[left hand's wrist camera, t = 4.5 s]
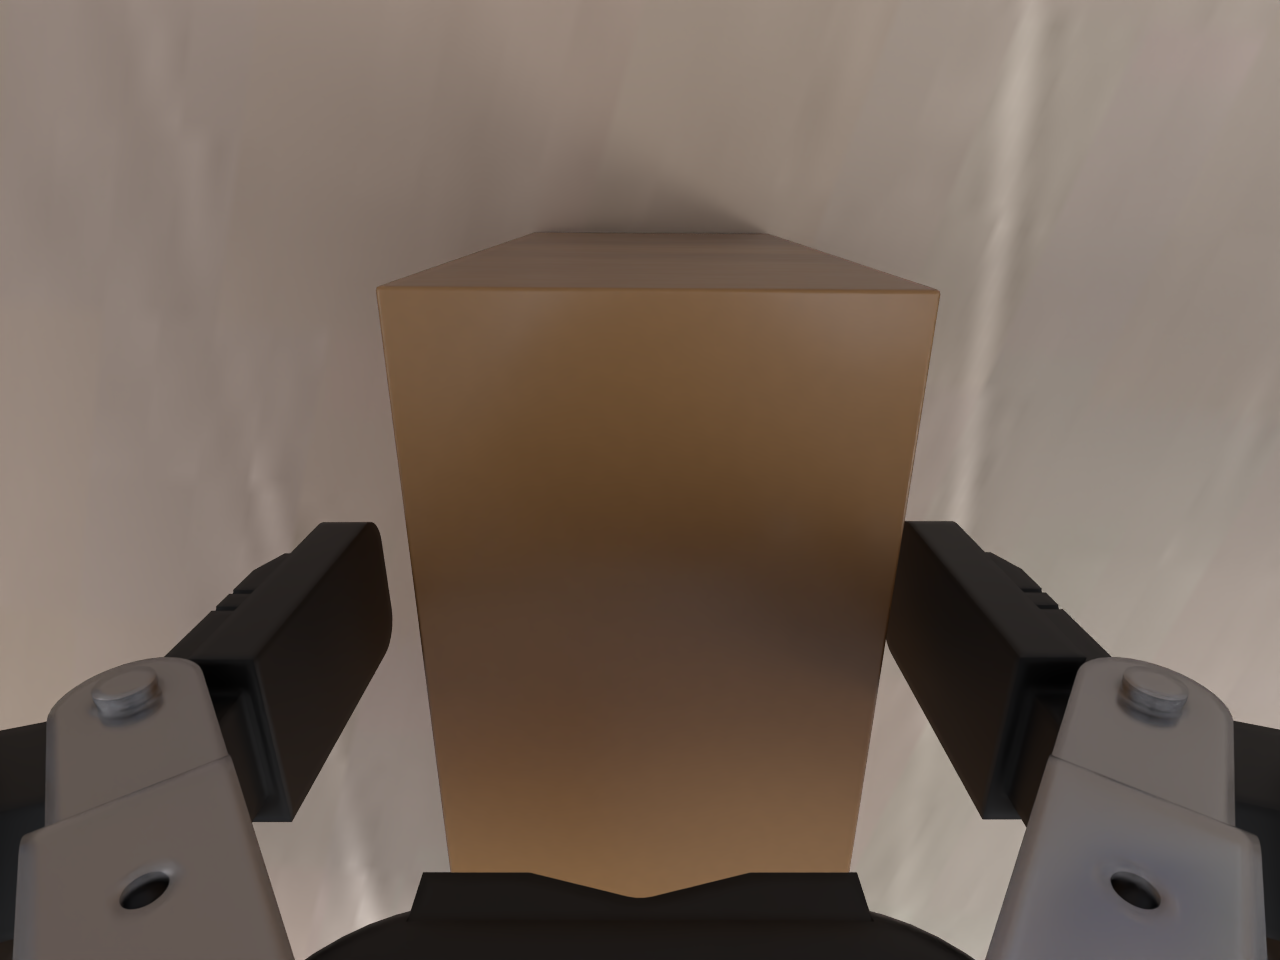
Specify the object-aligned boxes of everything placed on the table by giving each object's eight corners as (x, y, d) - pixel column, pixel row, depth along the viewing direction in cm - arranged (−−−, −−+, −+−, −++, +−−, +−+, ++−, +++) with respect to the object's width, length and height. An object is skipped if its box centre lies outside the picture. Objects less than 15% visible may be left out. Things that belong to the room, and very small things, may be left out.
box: (532, 232, 19) (374, 285, 8) (769, 233, 19) (942, 290, 8) (566, 942, 29) (517, 1399, 18) (720, 943, 29) (766, 1403, 18)
